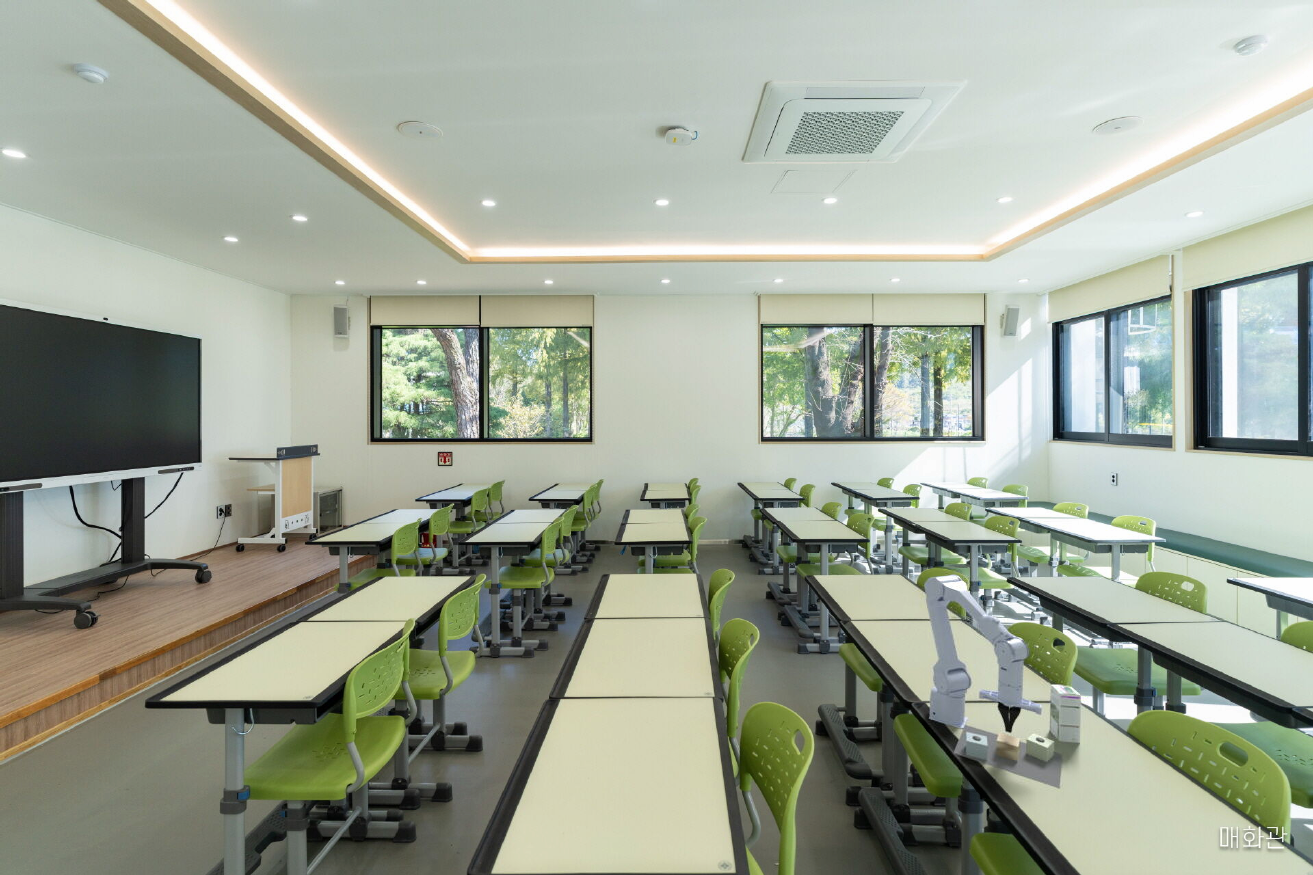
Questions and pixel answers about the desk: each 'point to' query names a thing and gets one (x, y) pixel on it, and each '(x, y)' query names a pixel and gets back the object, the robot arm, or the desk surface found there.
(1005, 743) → the beech block
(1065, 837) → the desk surface
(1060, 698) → the syrup box
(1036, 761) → the rubber mat
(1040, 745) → the sage dotted block
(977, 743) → the slate dotted block
